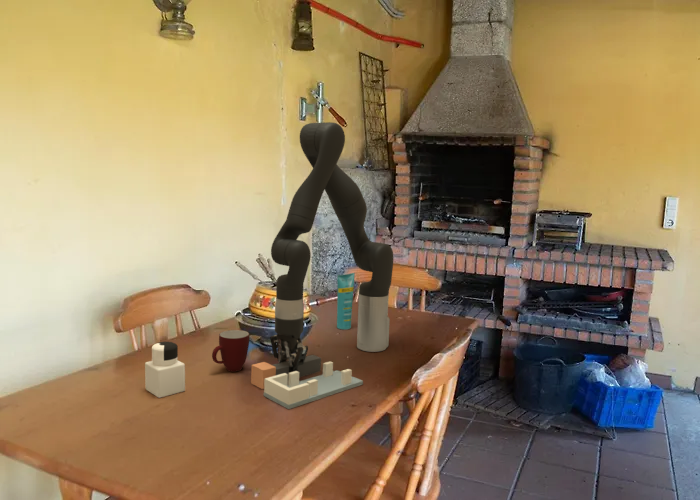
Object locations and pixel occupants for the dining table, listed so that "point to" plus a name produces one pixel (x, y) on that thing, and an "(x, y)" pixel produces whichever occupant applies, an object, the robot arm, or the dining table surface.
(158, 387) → the medicine bottle
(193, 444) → the dining table surface
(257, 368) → the bar
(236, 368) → the mug
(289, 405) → the clip
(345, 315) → the tube
